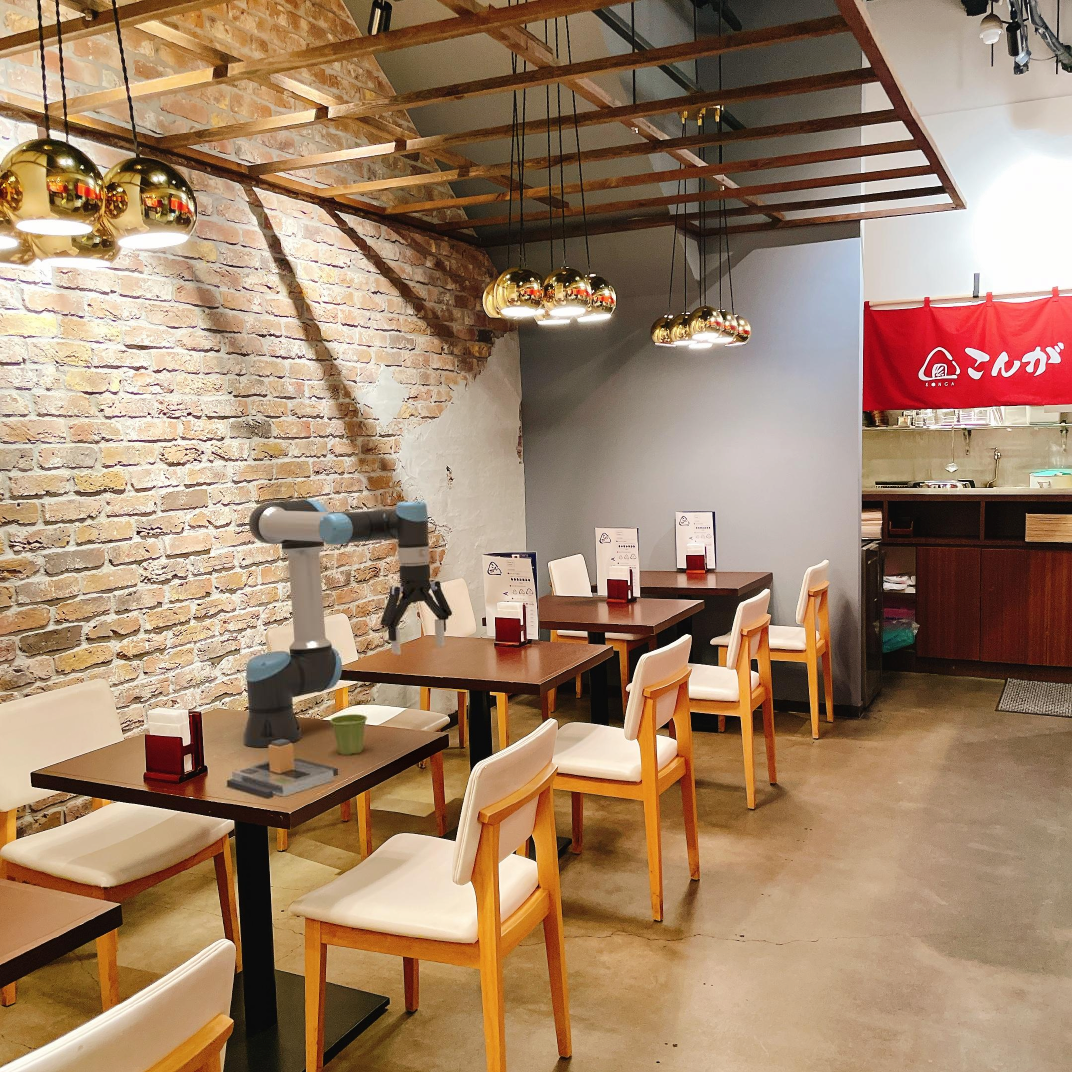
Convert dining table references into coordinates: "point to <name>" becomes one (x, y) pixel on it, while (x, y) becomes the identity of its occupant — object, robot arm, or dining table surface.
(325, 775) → the panel
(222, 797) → the dining table surface
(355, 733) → the plant pot
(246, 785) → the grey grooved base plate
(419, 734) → the dining table surface
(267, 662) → the robot arm
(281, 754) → the tan rectangular block
